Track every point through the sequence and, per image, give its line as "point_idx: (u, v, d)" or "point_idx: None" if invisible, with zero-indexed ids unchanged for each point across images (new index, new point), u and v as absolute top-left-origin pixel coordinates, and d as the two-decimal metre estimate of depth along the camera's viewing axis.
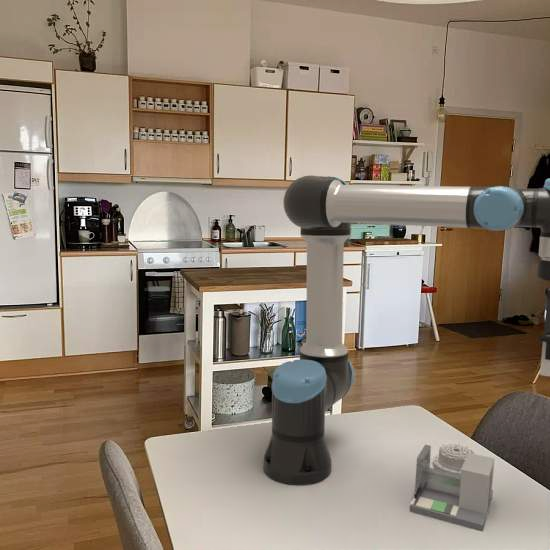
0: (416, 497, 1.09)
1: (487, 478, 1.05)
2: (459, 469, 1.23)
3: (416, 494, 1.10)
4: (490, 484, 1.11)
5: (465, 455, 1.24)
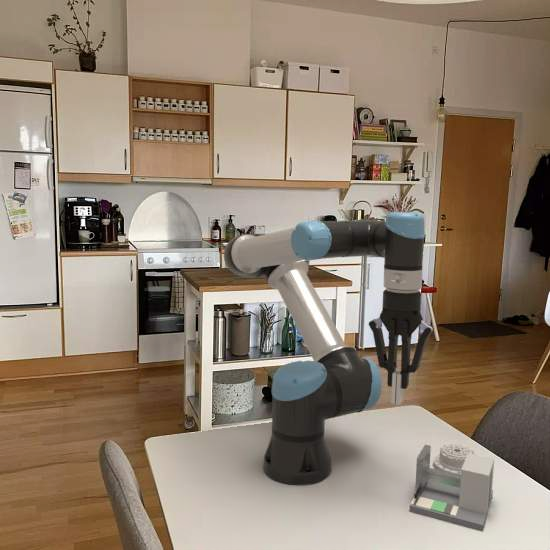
0: (416, 497, 1.09)
1: (487, 478, 1.05)
2: (460, 470, 1.23)
3: (416, 494, 1.10)
4: (490, 484, 1.11)
5: (466, 455, 1.24)
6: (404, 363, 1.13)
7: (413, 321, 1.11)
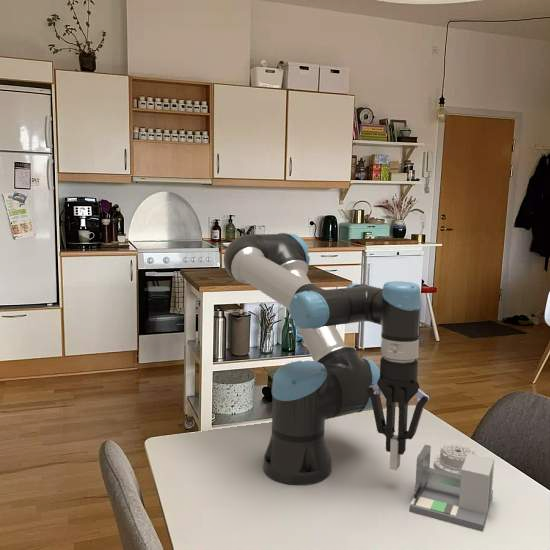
0: (416, 497, 1.09)
1: (487, 478, 1.05)
2: (460, 470, 1.23)
3: (416, 494, 1.10)
4: (490, 484, 1.11)
5: (466, 456, 1.24)
6: (401, 430, 1.15)
7: (410, 389, 1.13)
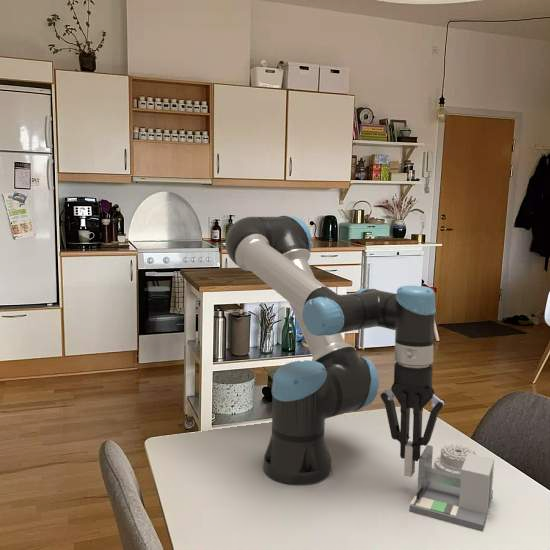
0: (418, 498, 1.09)
1: (487, 478, 1.05)
2: None
3: (418, 495, 1.09)
4: (490, 484, 1.11)
5: None
6: (416, 436, 1.13)
7: (425, 395, 1.12)
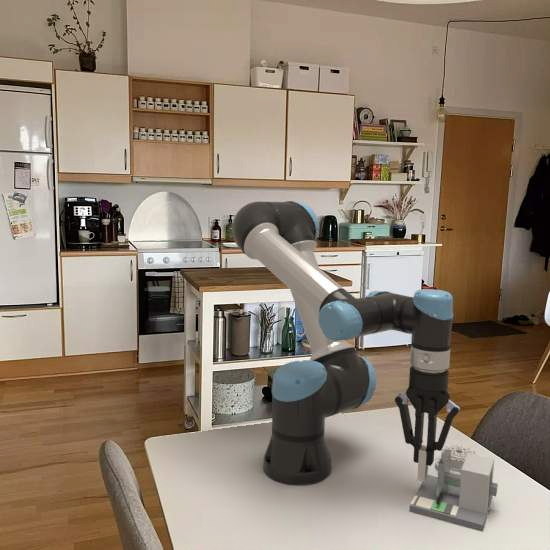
0: (438, 503, 1.07)
1: (487, 478, 1.05)
2: None
3: (438, 500, 1.08)
4: None
5: None
6: (430, 441, 1.12)
7: (440, 400, 1.11)
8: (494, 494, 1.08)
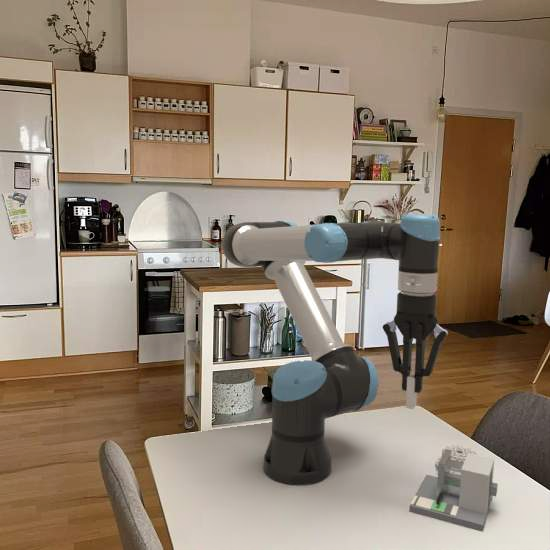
0: (438, 503, 1.07)
1: (487, 478, 1.05)
2: None
3: (438, 500, 1.08)
4: None
5: None
6: (418, 367, 1.12)
7: (428, 324, 1.10)
8: (494, 494, 1.08)
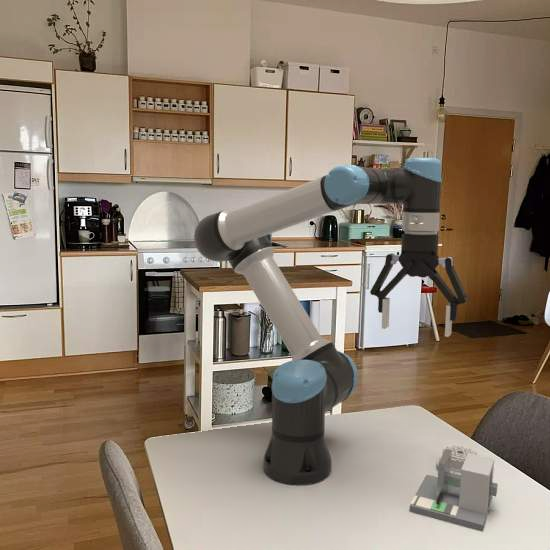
0: (438, 503, 1.07)
1: (487, 478, 1.05)
2: None
3: (438, 500, 1.08)
4: None
5: None
6: (448, 296, 1.16)
7: (431, 262, 1.17)
8: (494, 494, 1.08)
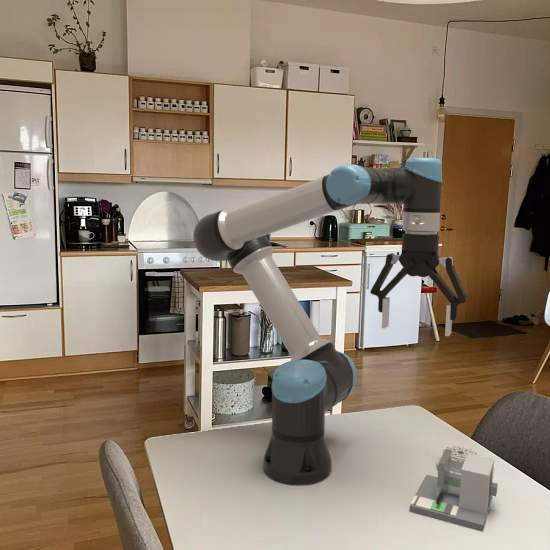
0: (438, 503, 1.07)
1: (487, 478, 1.05)
2: None
3: (438, 500, 1.08)
4: None
5: None
6: (449, 295, 1.16)
7: (432, 262, 1.17)
8: (494, 494, 1.08)
